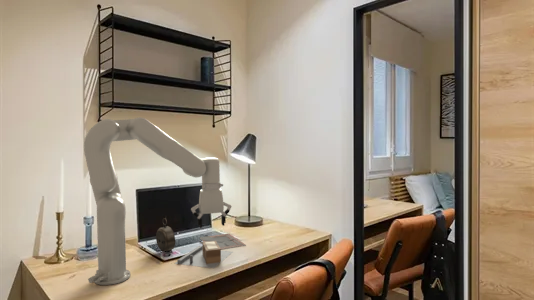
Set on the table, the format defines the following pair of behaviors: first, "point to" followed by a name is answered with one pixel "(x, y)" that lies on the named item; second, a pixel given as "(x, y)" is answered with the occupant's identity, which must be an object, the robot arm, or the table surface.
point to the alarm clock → (165, 238)
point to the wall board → (200, 258)
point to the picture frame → (224, 241)
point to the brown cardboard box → (211, 252)
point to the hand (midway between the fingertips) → (211, 226)
